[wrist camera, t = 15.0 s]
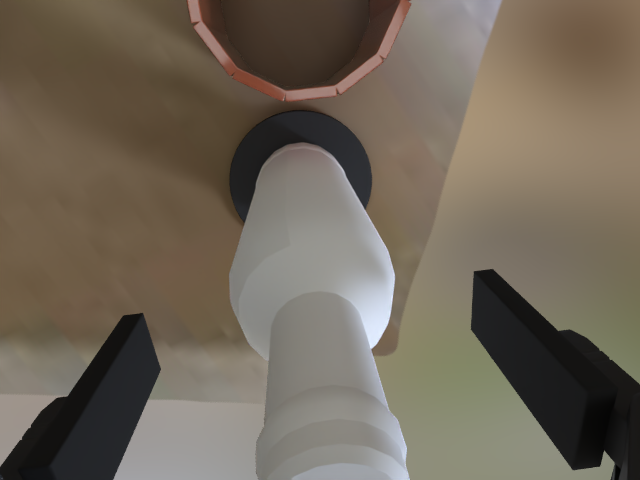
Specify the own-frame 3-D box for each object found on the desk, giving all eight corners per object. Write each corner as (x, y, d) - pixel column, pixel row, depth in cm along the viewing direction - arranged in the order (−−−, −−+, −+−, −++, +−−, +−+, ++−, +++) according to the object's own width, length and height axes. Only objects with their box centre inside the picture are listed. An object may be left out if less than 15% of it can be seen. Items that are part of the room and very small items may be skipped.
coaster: (211, 218, 38) (209, 220, 38) (260, 84, 34) (260, 84, 33) (335, 265, 41) (335, 268, 40) (394, 146, 37) (396, 147, 36)
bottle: (284, 239, 39) (270, 648, 11) (241, 168, 36) (74, 475, 8) (359, 201, 38) (549, 542, 10) (320, 124, 35) (438, 304, 7)
